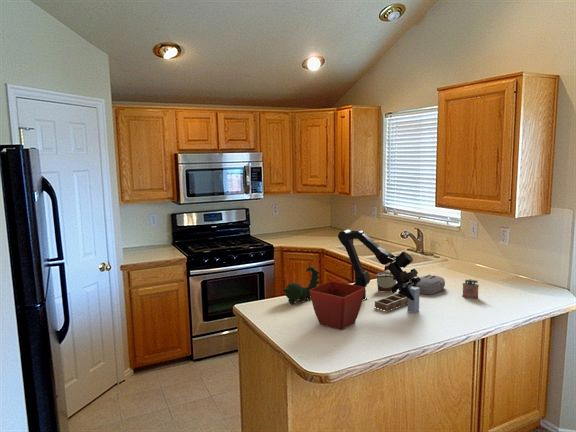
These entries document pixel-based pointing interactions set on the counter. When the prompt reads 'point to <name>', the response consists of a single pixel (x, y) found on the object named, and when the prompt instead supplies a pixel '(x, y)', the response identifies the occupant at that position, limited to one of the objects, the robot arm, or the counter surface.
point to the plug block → (414, 305)
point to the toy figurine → (301, 288)
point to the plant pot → (337, 303)
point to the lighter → (470, 289)
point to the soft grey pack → (430, 284)
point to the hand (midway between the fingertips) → (415, 299)
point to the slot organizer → (391, 302)
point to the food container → (385, 281)
